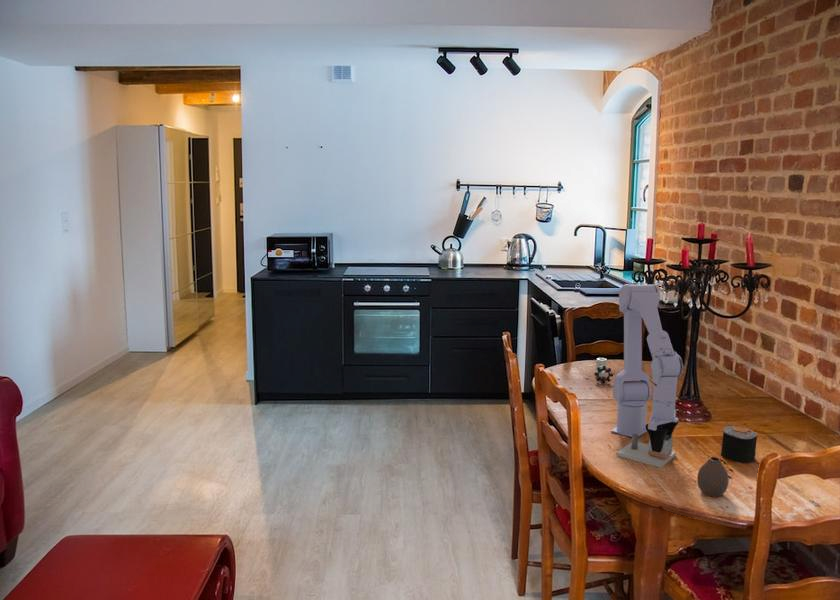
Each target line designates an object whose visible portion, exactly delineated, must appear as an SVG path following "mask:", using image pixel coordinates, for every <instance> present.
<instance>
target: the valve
mask: <svg viewBox="0 0 840 600" xmlns="http://www.w3.org/2000/svg"><path fill="white" fill-rule="evenodd" d="M611 371H612V368H611V367H608V364H607V358H604V357H598V358H596V364H595V372H594V373H593V374H594V376H596V378H595V379H596V380H595V381H596V382H599V381H601V384H606V383H605V382H606V381H607V382H608V383H610V382H611V378H610V377H612V378H613V376H614V374H613V373H612V372H611ZM610 372H611V373H610ZM607 374H608V375H607Z"/></svg>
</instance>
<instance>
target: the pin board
mask: <svg viewBox="0 0 840 600" xmlns="http://www.w3.org/2000/svg"><path fill="white" fill-rule="evenodd" d="M648 451H649V443H648V444H647V443H643V442H640V441H639V437H638V434H632V437H631V442H630V443H628V444H627V445H625V446H624V447H622V448H621V449H620V450H617V452H616V456H617V457H620V458H624V459H627V460H631V461H636V462H638V463H642V464H645V465H649V466H653V467H657V468H662V467H663V466H664V465H666V464H667V463H669V462H670V461H671V460H672V459H674V458H675V457H676V456H677V451H674V450H672V454H671V455H670V456H668V457H667V458H666V459H663V458H660V457H656V456H652V455H648Z"/></svg>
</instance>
